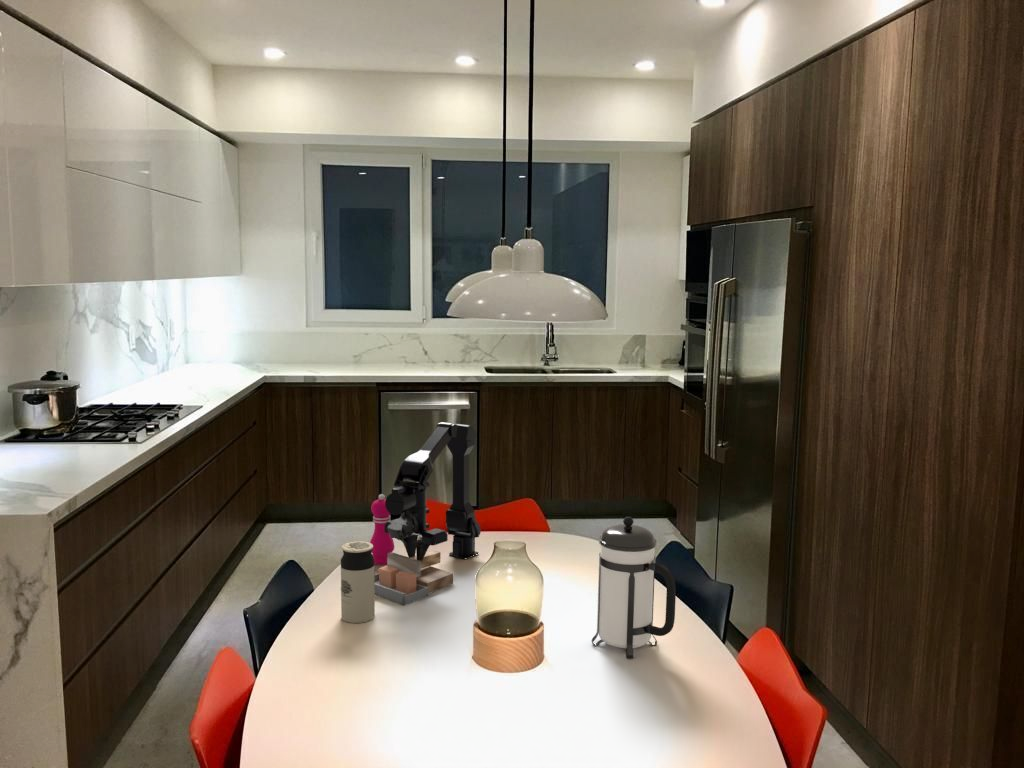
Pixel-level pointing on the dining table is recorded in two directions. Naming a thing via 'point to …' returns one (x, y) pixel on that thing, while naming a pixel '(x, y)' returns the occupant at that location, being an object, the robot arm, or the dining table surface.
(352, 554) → the travel mug
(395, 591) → the box
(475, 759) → the dining table surface
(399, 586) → the tile
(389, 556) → the scraper
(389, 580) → the tan square block
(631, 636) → the coffee press
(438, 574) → the board
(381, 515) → the pepper mill
